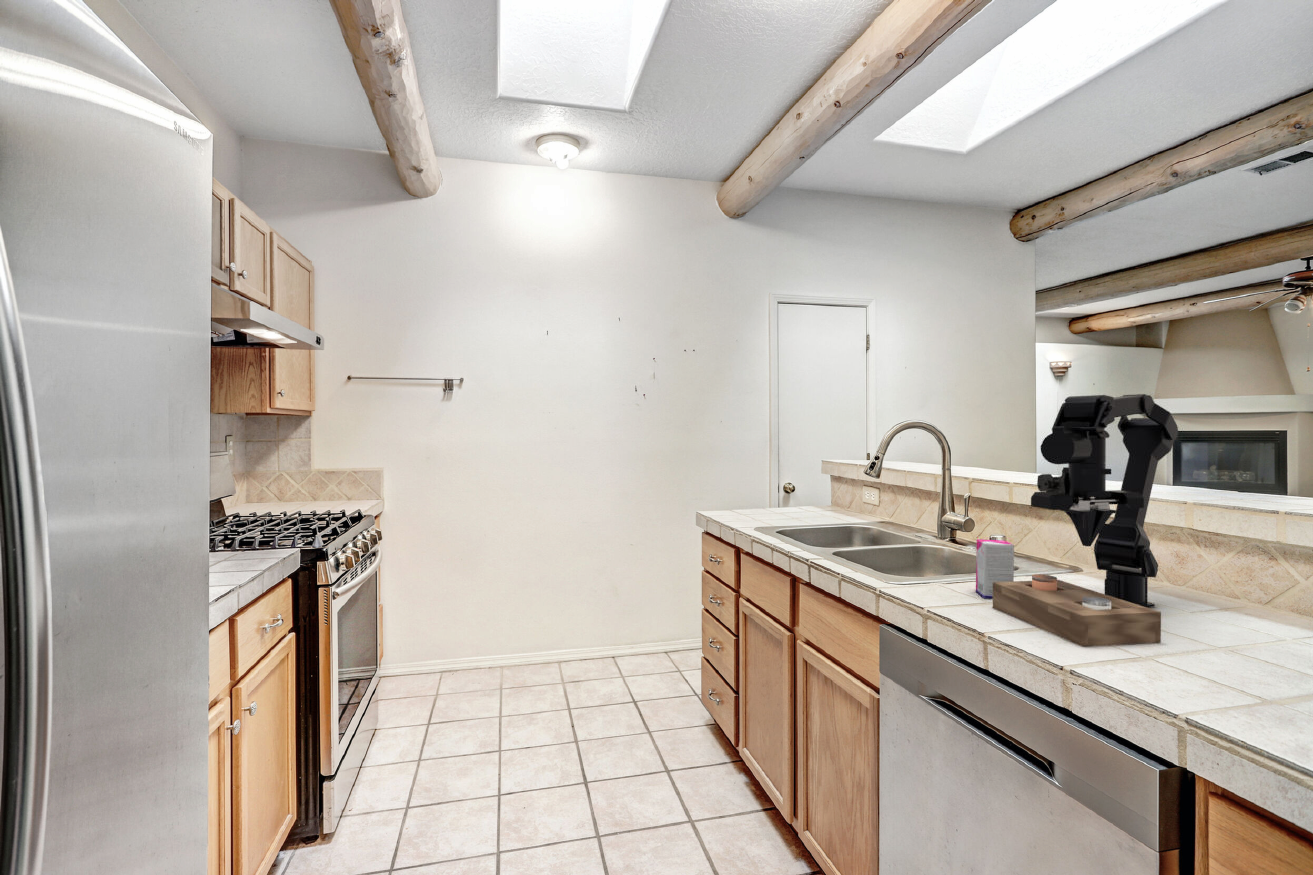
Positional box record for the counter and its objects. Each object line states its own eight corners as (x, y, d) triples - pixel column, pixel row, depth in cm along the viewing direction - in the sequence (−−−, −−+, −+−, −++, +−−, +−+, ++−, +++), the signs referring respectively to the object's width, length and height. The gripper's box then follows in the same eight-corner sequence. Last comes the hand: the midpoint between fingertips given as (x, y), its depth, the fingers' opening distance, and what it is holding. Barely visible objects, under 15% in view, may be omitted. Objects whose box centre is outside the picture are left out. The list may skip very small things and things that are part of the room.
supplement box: (1014, 600, 126) (1014, 544, 126) (983, 598, 127) (983, 543, 127) (1004, 592, 132) (1004, 539, 132) (974, 591, 133) (974, 538, 133)
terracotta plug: (1046, 602, 119) (1046, 573, 119) (1062, 608, 115) (1062, 578, 115) (1027, 603, 119) (1027, 574, 118) (1042, 609, 115) (1042, 579, 115)
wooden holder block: (1058, 604, 123) (1058, 579, 123) (1160, 642, 101) (1160, 611, 101) (992, 607, 121) (992, 582, 121) (1082, 646, 99) (1082, 615, 99)
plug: (1097, 627, 107) (1097, 595, 107) (1117, 635, 103) (1117, 602, 103) (1076, 628, 107) (1076, 596, 107) (1095, 636, 103) (1095, 603, 103)
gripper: (1096, 460, 124) (1096, 537, 125) (1010, 461, 122) (1010, 539, 122) (1146, 462, 113) (1146, 547, 113) (1053, 464, 111) (1053, 550, 111)
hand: (1086, 545), depth 115 cm, fingers closed
